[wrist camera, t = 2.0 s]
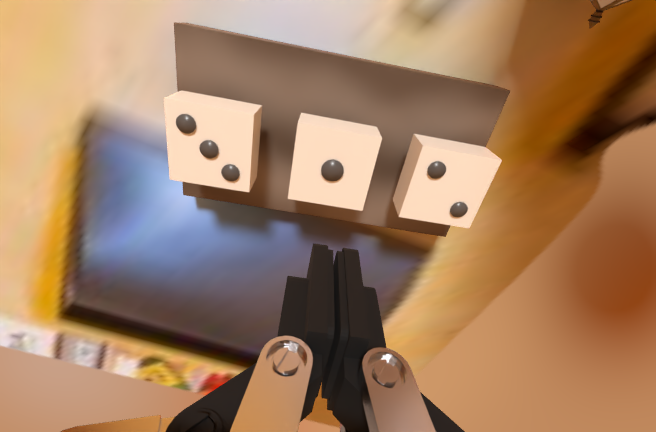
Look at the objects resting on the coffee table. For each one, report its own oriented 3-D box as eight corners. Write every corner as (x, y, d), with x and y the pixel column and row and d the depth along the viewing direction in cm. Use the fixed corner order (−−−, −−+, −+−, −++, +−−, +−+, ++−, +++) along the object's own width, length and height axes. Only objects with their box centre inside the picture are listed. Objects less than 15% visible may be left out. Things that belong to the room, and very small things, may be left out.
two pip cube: (413, 133, 21) (423, 146, 19) (485, 146, 22) (503, 161, 19) (392, 199, 24) (399, 218, 21) (456, 210, 24) (470, 229, 22)
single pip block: (301, 112, 21) (297, 123, 18) (376, 126, 21) (382, 139, 19) (291, 182, 23) (287, 199, 21) (359, 194, 24) (362, 212, 21)
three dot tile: (181, 90, 20) (162, 98, 18) (262, 105, 20) (253, 115, 18) (185, 164, 22) (168, 180, 20) (257, 176, 23) (248, 193, 21)
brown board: (186, 22, 21) (173, 22, 20) (497, 86, 23) (510, 90, 22) (192, 184, 27) (183, 194, 26) (438, 224, 29) (445, 236, 28)
